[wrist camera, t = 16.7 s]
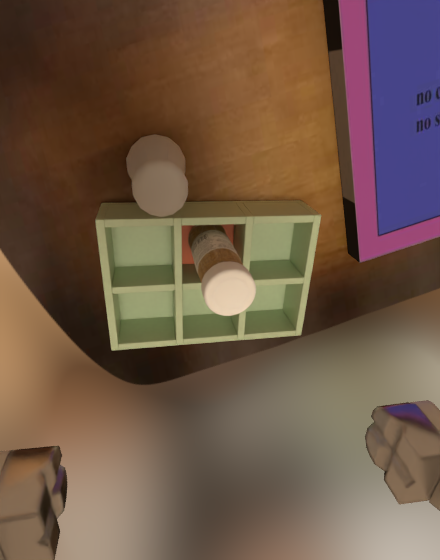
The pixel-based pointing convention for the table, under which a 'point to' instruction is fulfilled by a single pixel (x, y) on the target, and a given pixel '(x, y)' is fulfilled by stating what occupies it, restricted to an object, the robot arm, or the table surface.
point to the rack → (185, 280)
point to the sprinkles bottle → (220, 271)
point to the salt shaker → (157, 175)
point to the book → (386, 120)
